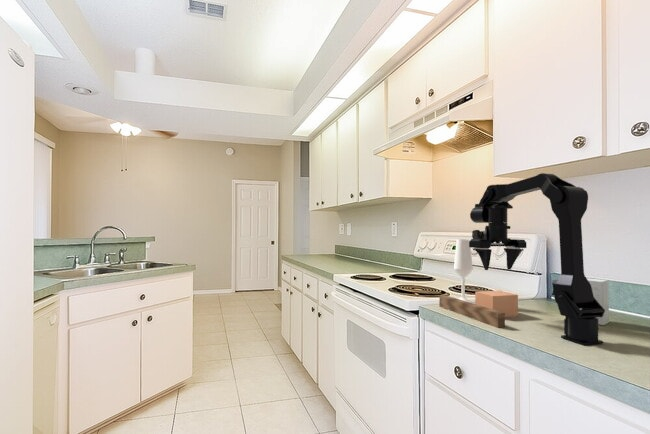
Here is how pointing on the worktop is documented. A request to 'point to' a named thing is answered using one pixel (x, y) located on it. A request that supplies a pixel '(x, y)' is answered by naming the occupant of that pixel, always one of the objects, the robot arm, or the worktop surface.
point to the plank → (473, 311)
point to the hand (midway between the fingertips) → (497, 269)
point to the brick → (498, 301)
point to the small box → (601, 297)
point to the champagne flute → (463, 262)
